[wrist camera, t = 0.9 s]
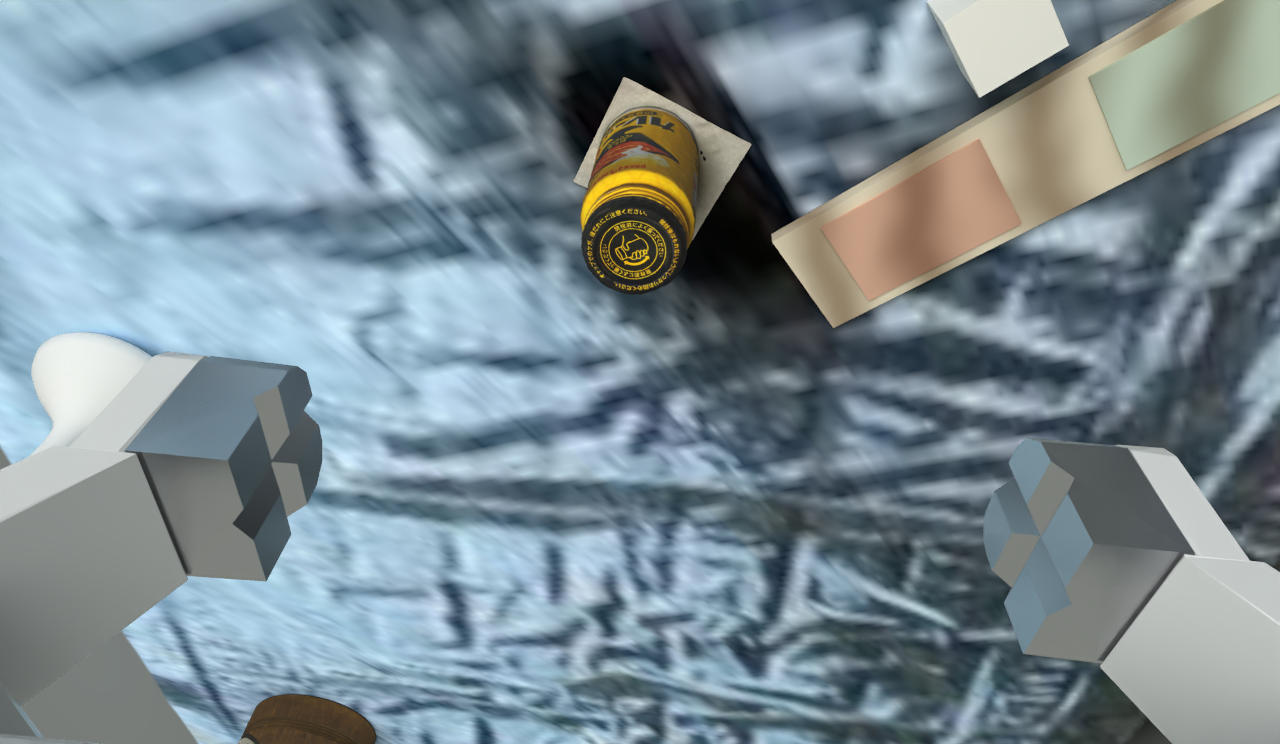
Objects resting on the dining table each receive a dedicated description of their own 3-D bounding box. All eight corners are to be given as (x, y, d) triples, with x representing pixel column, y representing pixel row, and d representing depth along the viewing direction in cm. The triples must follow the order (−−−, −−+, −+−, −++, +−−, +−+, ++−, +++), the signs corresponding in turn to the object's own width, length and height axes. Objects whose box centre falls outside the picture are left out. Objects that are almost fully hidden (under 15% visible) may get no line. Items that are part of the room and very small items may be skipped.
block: (1011, -55, 40) (1035, -37, 37) (1043, 22, 42) (1069, 45, 39) (926, 1, 42) (942, 22, 39) (961, 72, 44) (979, 97, 41)
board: (1359, -105, 38) (1375, -101, 37) (1386, 38, 42) (1402, 45, 41) (771, 234, 51) (772, 243, 50) (831, 319, 55) (833, 329, 54)
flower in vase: (80, 424, 67) (-179, 706, 48) (24, 312, 60) (-308, 591, 41) (234, 439, 67) (36, 729, 48) (195, 329, 60) (-57, 617, 40)
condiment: (624, 75, 46) (600, 163, 36) (751, 143, 48) (760, 243, 38) (573, 179, 50) (540, 282, 41) (692, 237, 52) (687, 349, 43)
